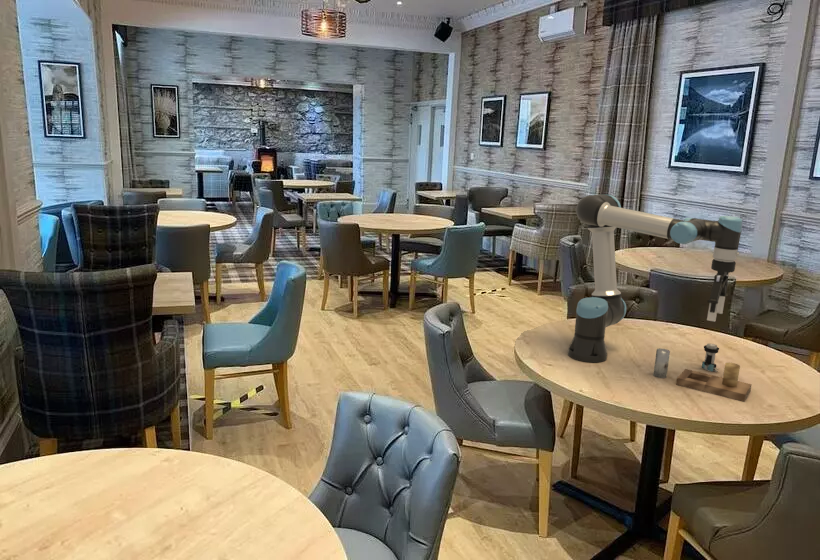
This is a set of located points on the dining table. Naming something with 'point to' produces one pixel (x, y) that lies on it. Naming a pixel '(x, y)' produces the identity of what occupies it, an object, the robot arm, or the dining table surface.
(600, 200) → the robot arm
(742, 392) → the jig
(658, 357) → the tan grey cylinder
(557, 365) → the dining table surface
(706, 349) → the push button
